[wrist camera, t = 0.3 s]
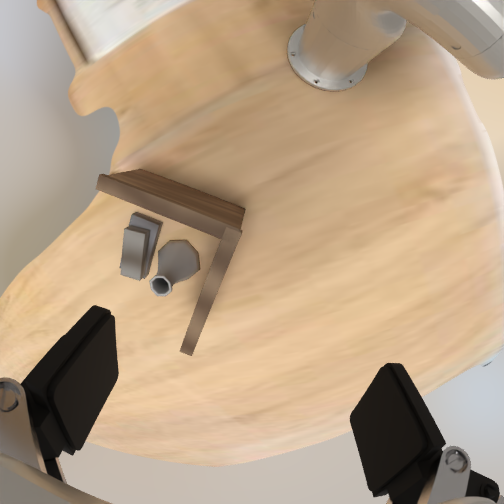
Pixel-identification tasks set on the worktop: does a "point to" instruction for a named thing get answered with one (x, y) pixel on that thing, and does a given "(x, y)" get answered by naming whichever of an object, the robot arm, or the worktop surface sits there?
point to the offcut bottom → (155, 228)
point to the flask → (174, 266)
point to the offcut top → (135, 252)
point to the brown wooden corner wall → (191, 214)
